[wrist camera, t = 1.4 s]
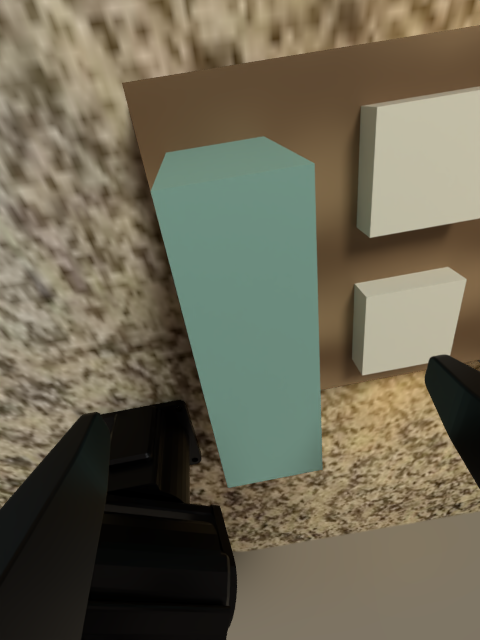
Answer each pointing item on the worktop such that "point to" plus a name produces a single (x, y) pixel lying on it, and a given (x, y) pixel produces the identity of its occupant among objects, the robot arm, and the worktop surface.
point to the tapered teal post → (249, 298)
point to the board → (328, 162)
